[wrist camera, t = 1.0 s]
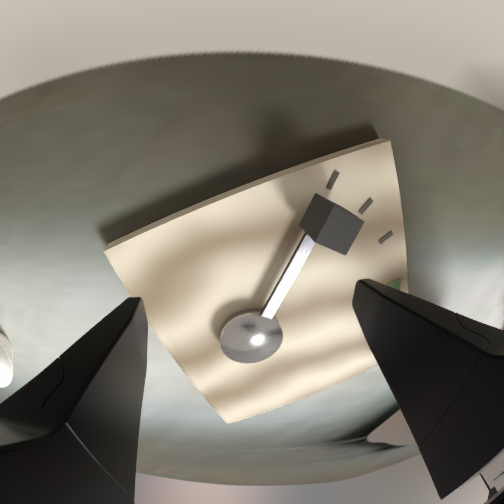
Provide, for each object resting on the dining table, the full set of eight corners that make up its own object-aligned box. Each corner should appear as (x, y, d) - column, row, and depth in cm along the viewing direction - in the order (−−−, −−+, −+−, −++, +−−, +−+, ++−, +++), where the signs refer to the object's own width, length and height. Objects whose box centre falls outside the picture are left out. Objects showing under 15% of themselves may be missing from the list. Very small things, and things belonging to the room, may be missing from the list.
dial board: (401, 340, 31) (408, 349, 29) (225, 413, 31) (227, 424, 29) (379, 138, 21) (390, 140, 19) (109, 243, 20) (103, 251, 19)
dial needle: (263, 360, 25) (272, 391, 22) (210, 347, 24) (213, 381, 20) (351, 211, 21) (379, 229, 17) (294, 182, 19) (315, 196, 16)
